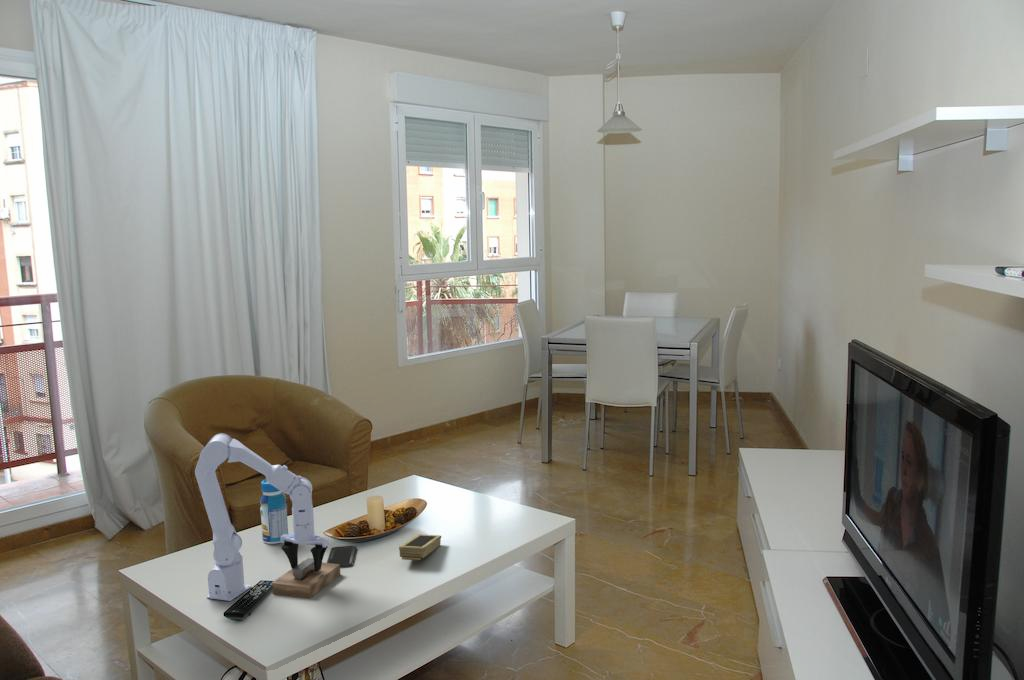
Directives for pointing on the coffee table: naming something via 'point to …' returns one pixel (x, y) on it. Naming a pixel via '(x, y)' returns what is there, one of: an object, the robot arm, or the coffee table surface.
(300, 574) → the metal staple
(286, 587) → the wooden board with holes
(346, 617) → the coffee table surface
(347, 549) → the phone
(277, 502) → the beverage bottle
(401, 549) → the box
